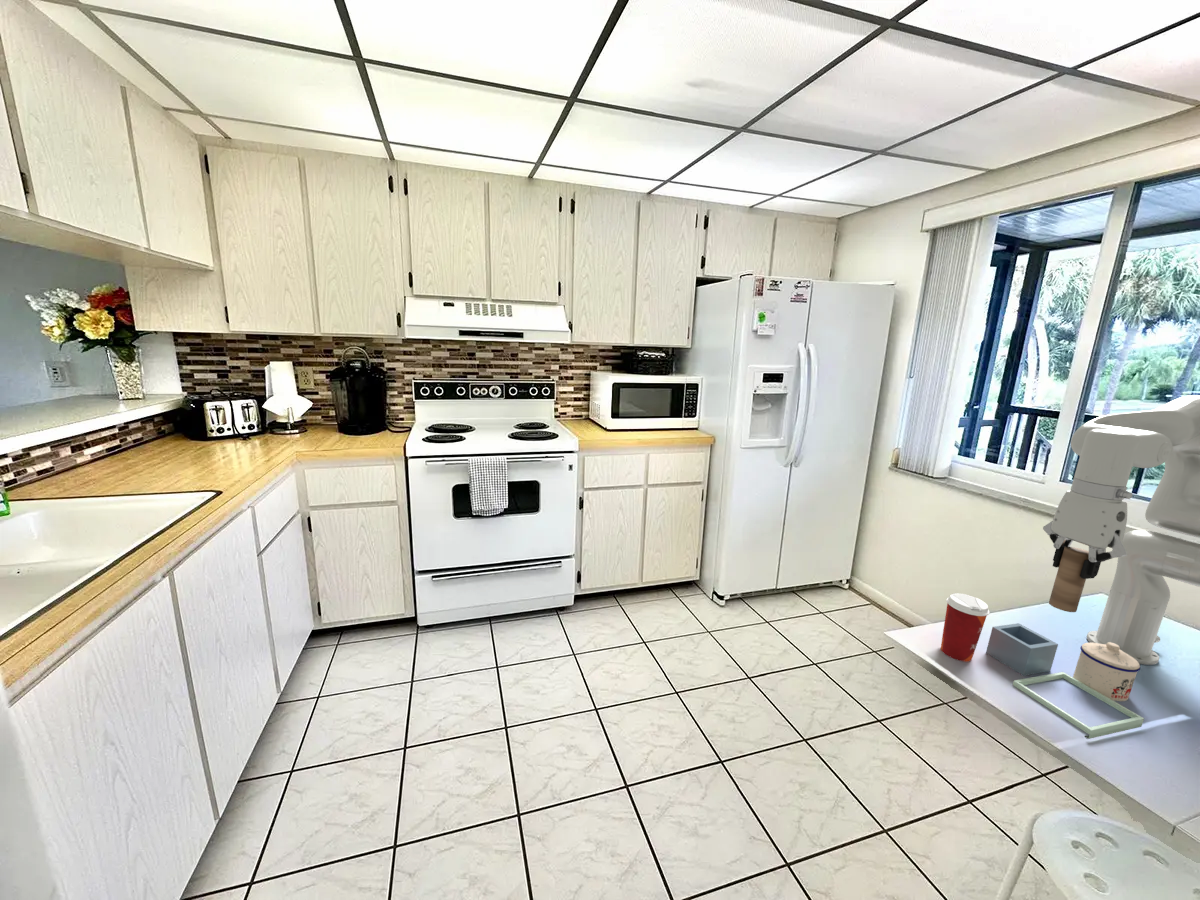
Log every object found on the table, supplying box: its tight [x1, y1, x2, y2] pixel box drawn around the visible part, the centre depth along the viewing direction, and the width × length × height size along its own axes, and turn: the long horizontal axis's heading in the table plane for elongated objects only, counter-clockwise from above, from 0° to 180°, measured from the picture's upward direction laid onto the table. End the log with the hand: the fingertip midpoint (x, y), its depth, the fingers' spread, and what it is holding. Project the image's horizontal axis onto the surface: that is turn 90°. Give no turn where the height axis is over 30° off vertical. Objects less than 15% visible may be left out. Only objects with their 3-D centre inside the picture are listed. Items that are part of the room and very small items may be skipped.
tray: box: [1012, 671, 1145, 740], centre depth 100 cm, size 15×14×2 cm
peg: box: [1048, 546, 1089, 613], centre depth 102 cm, size 4×4×13 cm
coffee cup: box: [940, 592, 991, 663], centre depth 114 cm, size 8×8×15 cm
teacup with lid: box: [1072, 642, 1141, 702], centre depth 105 cm, size 12×9×12 cm
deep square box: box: [985, 623, 1059, 676], centre depth 113 cm, size 8×8×8 cm
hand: (1073, 571), depth 101 cm, fingers closed on peg, 4 cm apart
